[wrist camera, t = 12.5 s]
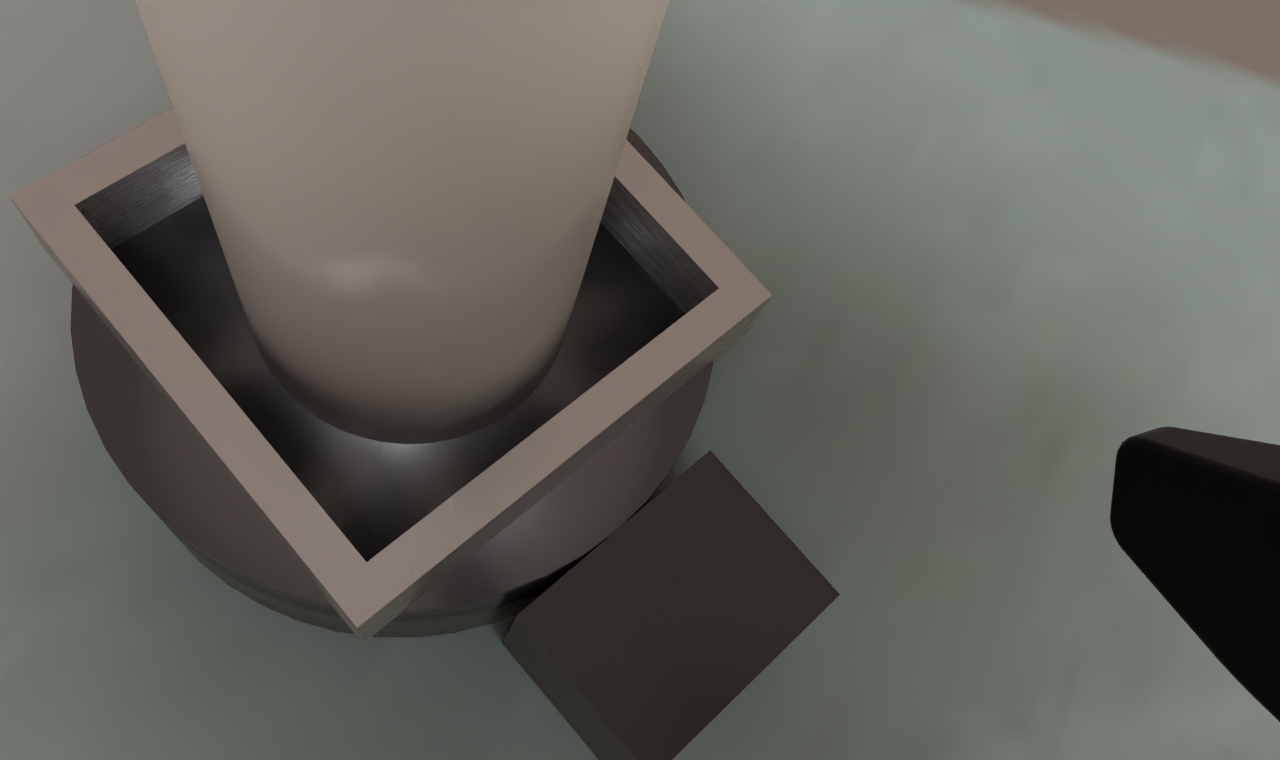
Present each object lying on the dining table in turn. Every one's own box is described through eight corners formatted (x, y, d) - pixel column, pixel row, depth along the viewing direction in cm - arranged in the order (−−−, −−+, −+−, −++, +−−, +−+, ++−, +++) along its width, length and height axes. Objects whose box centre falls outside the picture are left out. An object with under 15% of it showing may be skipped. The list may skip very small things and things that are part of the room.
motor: (888, 520, 21) (1003, 449, 17) (477, 919, 17) (495, 953, 13) (454, 50, 23) (462, -117, 19) (2, 315, 19) (-113, 181, 15)
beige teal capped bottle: (585, 188, 19) (877, -884, 7) (547, 467, 17) (859, -346, 5) (287, 133, 18) (32, -1166, 6) (213, 415, 16) (-361, -667, 4)
